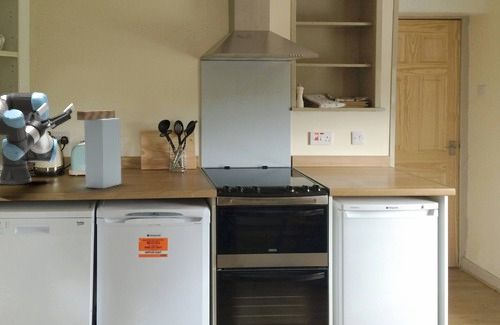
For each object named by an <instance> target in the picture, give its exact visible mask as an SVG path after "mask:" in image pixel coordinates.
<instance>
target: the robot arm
mask: <svg viewBox="0 0 500 325" xmlns="http://www.w3.org/2000/svg"><path fill="white" fill-rule="evenodd" d="M73 111H75V105H74V104H73V103H70V105H69V106H68V107H66V109H64V110H63V112H62V113H59V114H57V115H55V116H52V117H49V116H50V104H49V100H48V97H47V95H46V94H45V93H43V92H4V93H1V94H0V137H2V136H3V137H5V138H4V139H2V141H1V148H0V149H1V162H2V167H1V172H0V185H9V186H10V185H23V184H24V185H25V184H29V183H32V176H31V174H30V171H29V169H28V163H29V162H30V163H35V162H37V163H41V162H42V163H43V162H44V163H45V162H46V163H49V162H55V161H56V160H57V146H58V145H57V144H58V140H57V139H56V138H53V137H52V136H51V135H49V133H48V129H49V128H50V129H51V130H54V129H56V128H57V127H58V126H60V125H63V124H64V123H65V122H67V121H69V120H71V119H72V115H71V114H72V113H73Z"/></svg>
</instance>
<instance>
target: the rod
mask: <svg viewBox="0 0 500 325" xmlns="http://www.w3.org/2000/svg"><path fill="white" fill-rule="evenodd" d="M114 118H116V110H108V109H107V110H105V109H104V110H103V109H102V110H84V111H83V110H79V111H76V121H84V120H97V119H114Z"/></svg>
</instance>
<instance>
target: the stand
mask: <svg viewBox="0 0 500 325" xmlns="http://www.w3.org/2000/svg"><path fill="white" fill-rule="evenodd" d="M83 121H84V165H85V166H84V167H85V169H84V170H85V188H95V189H107V188H111V187H113V186H114V187H115V186H117V185H118V186H119V185H122V155H121V154H122V153H121V152H122V150H121V148H122V147H121V145H122V144H121V141H122V140H121V137H122V136H121V118H116V117H115V118H114V119H97V120H83Z"/></svg>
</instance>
